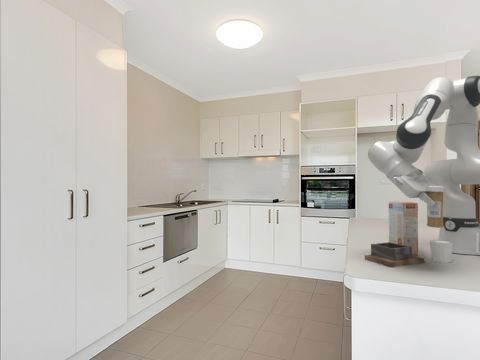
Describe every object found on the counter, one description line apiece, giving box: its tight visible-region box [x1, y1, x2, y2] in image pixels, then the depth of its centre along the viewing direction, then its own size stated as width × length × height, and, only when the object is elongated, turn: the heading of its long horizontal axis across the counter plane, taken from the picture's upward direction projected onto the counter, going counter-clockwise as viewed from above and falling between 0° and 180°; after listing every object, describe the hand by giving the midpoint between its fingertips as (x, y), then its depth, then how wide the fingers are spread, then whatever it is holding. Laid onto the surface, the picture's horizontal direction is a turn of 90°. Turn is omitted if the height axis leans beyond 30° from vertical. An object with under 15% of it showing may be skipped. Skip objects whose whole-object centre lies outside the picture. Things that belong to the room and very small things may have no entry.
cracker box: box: [388, 200, 419, 256], centre depth 116 cm, size 14×6×21 cm, turn 173°
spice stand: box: [364, 241, 426, 268], centre depth 101 cm, size 17×11×6 cm, turn 112°
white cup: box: [429, 239, 453, 264], centre depth 101 cm, size 7×7×7 cm
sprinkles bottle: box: [426, 186, 444, 229], centre depth 91 cm, size 5×5×14 cm
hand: (437, 204), depth 90 cm, fingers closed on sprinkles bottle, 4 cm apart
